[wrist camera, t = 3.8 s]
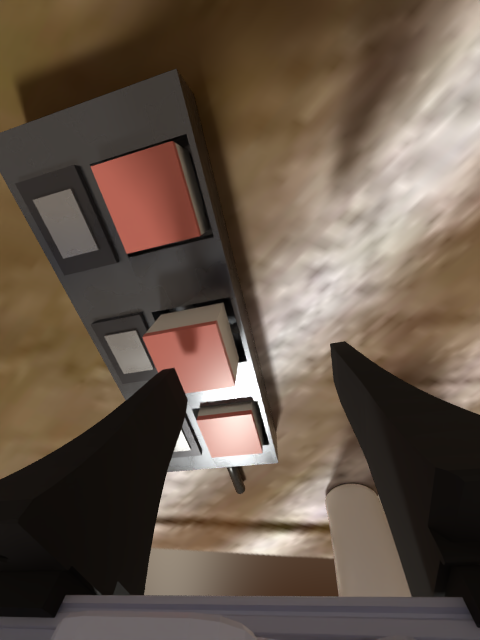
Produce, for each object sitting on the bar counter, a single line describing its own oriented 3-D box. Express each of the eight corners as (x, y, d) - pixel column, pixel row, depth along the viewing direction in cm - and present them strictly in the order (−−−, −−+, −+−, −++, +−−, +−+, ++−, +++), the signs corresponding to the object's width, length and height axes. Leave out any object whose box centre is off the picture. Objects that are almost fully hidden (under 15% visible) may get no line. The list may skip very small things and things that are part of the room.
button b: (182, 366, 17) (168, 395, 15) (161, 314, 16) (142, 337, 13) (238, 358, 17) (234, 386, 14) (223, 302, 15) (215, 323, 13)
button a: (217, 428, 22) (211, 457, 20) (204, 393, 21) (196, 420, 18) (262, 423, 22) (262, 453, 19) (252, 386, 20) (251, 414, 18)
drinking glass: (350, 466, 25) (456, 786, 11) (398, 495, 26) (543, 811, 13) (303, 497, 28) (343, 784, 14) (349, 521, 29) (425, 805, 15)
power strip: (196, 486, 28) (188, 522, 25) (32, 149, 15) (-28, 137, 12) (287, 479, 26) (291, 517, 23) (193, 94, 13) (173, 63, 10)
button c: (148, 244, 16) (126, 253, 13) (120, 171, 14) (90, 166, 12) (209, 229, 15) (199, 235, 13) (188, 151, 13) (172, 140, 11)
